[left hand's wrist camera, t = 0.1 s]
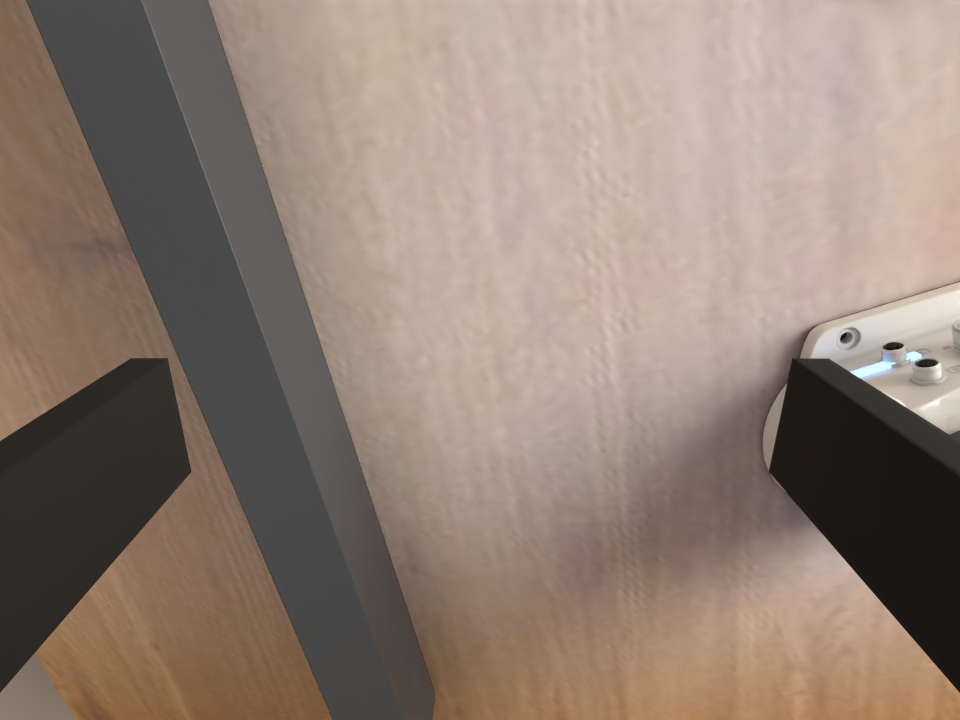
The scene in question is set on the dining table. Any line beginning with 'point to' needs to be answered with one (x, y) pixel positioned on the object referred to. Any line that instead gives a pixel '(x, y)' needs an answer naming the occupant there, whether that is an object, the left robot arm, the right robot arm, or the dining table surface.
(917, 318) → the right robot arm
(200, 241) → the post
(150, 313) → the dining table surface
